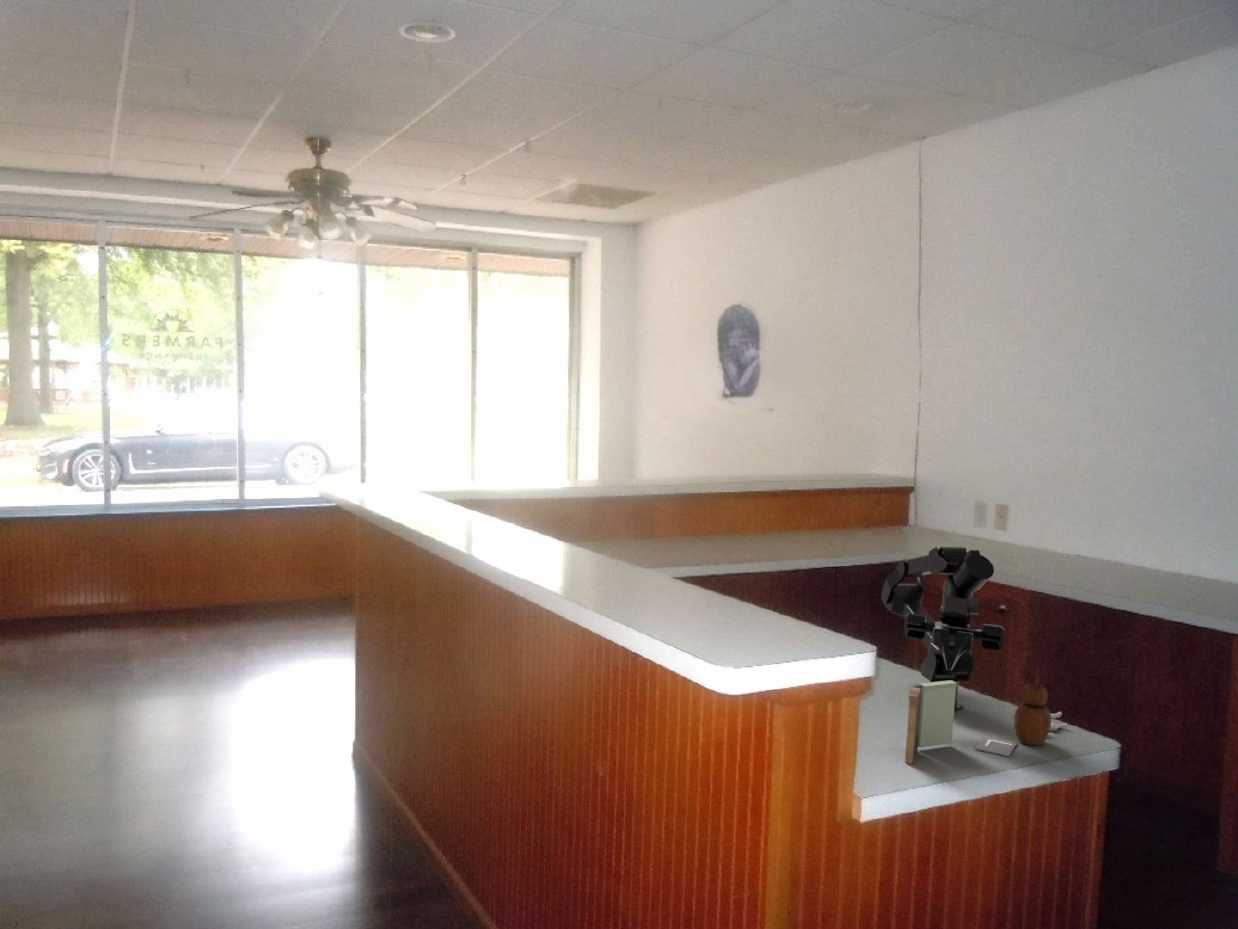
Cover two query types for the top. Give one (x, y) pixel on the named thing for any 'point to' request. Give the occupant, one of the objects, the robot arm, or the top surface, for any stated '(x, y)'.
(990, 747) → the card
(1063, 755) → the top surface
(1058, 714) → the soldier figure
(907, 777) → the top surface
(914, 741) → the brown upright slab
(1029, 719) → the wooden figurine
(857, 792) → the top surface
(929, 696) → the pale green rectangular panel
